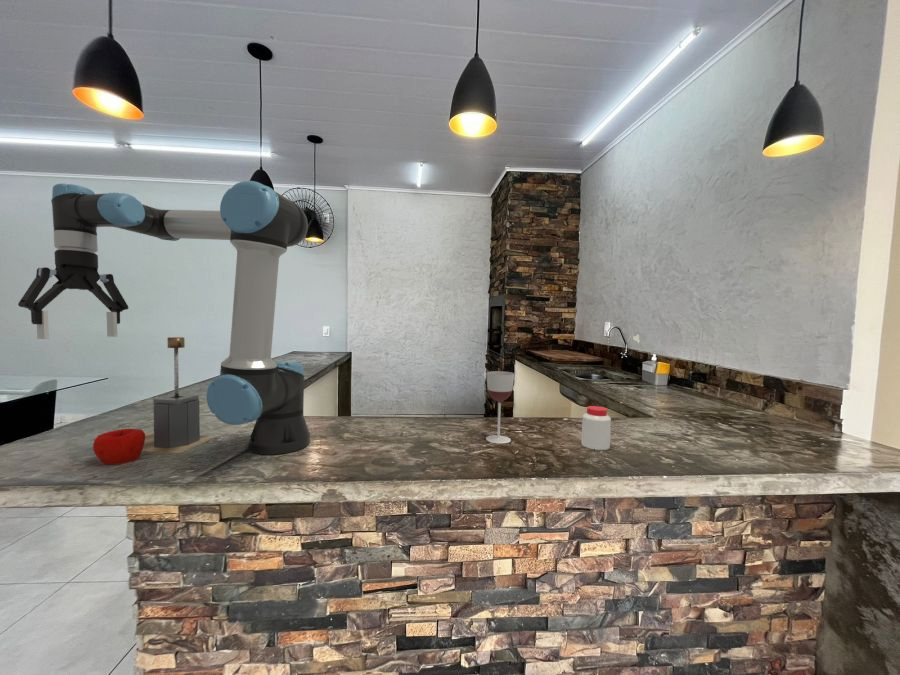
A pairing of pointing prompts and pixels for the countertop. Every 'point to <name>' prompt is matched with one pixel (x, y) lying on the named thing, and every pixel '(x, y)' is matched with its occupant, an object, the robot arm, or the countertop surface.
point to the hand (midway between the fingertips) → (80, 337)
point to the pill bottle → (596, 428)
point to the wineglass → (499, 396)
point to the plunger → (176, 359)
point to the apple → (119, 446)
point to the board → (150, 448)
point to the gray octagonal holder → (176, 421)
